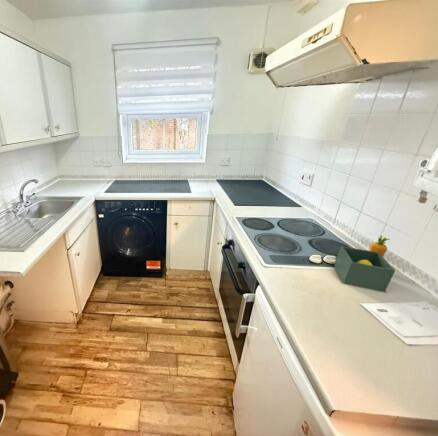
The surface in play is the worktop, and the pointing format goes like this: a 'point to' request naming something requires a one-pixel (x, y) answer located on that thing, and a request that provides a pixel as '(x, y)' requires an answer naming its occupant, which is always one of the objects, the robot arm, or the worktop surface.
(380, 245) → the carrot
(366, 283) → the bin
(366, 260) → the lemon
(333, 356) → the worktop surface
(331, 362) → the worktop surface
